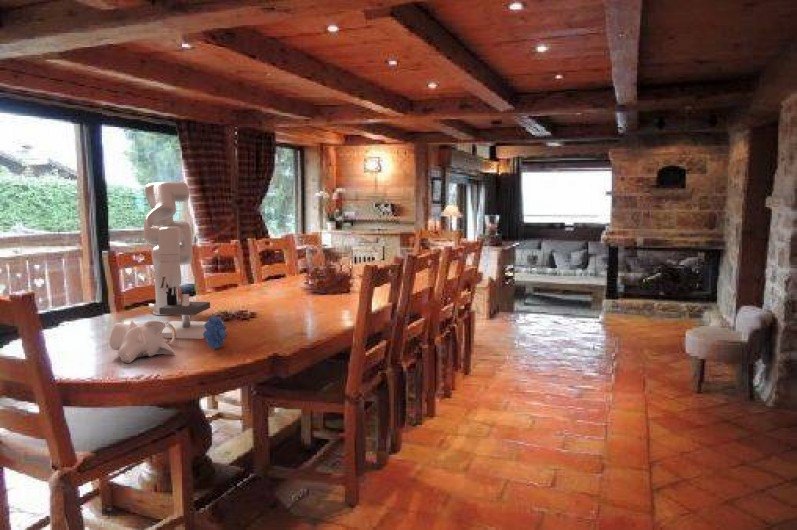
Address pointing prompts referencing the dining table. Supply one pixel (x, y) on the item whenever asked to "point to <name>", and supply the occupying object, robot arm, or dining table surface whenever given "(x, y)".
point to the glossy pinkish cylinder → (185, 317)
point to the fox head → (139, 340)
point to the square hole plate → (185, 308)
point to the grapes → (215, 332)
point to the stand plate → (185, 330)
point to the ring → (172, 333)
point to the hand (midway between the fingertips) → (172, 304)
